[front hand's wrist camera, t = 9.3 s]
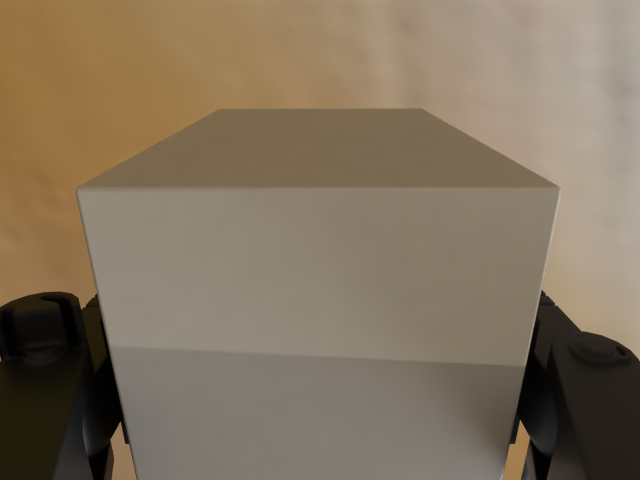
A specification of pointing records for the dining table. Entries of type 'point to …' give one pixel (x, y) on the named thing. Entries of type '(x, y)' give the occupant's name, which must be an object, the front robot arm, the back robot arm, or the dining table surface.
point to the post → (319, 295)
